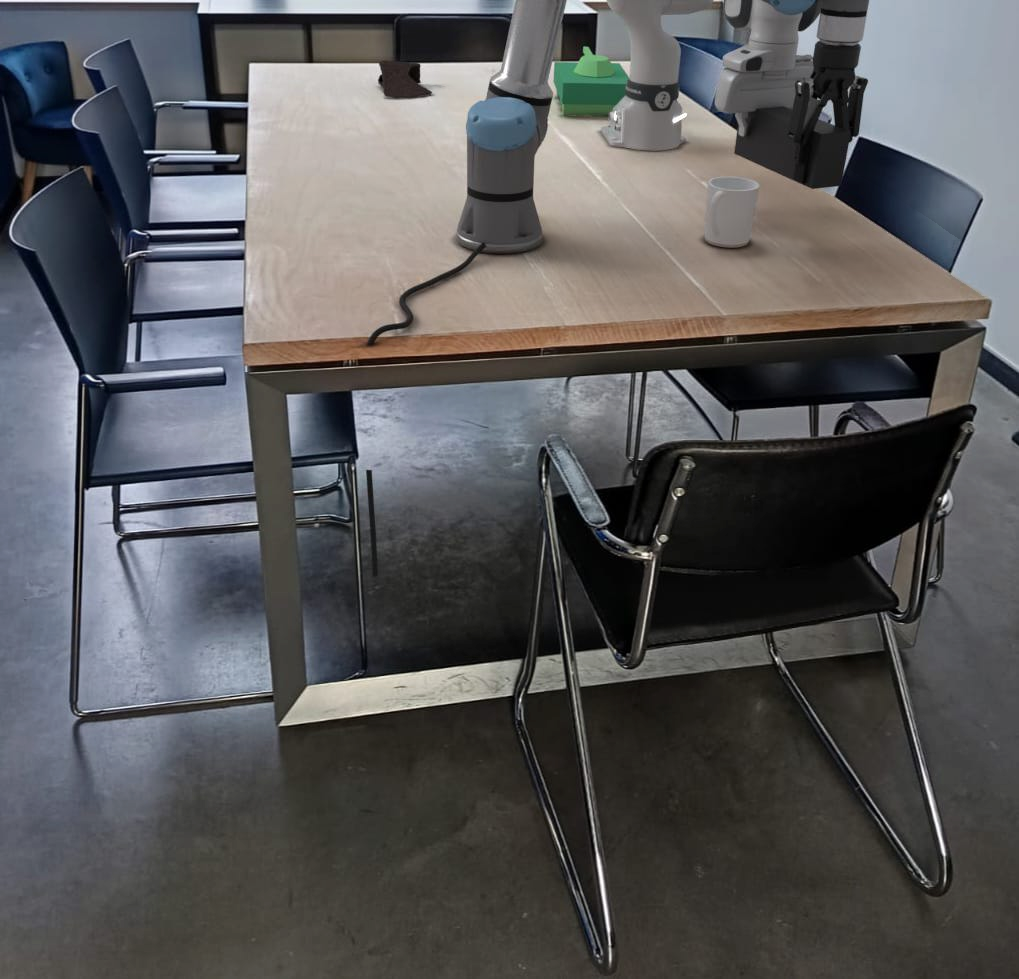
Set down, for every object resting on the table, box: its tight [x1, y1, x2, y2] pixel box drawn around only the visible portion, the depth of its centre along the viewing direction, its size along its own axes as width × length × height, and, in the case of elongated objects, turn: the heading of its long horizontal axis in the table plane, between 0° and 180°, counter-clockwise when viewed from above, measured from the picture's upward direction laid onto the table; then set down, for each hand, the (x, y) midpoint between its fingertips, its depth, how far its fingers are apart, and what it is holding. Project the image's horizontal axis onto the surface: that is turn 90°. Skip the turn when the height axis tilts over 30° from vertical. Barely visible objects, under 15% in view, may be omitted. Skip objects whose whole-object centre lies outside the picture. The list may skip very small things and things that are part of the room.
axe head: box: [377, 59, 433, 99], centre depth 299 cm, size 18×8×15 cm
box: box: [733, 107, 851, 190], centre depth 200 cm, size 25×6×10 cm, turn 23°
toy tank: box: [553, 46, 630, 117], centre depth 288 cm, size 18×12×35 cm
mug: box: [703, 176, 760, 249], centre depth 194 cm, size 11×9×10 cm
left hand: (815, 179), depth 195 cm, fingers closed on box, 6 cm apart
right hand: (760, 134), depth 208 cm, fingers closed on box, 6 cm apart
